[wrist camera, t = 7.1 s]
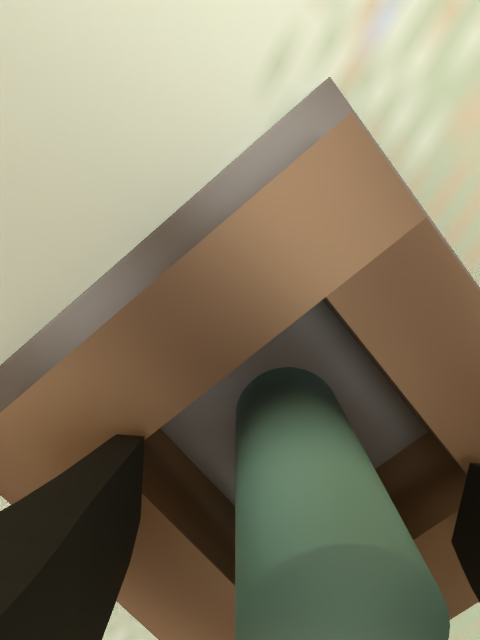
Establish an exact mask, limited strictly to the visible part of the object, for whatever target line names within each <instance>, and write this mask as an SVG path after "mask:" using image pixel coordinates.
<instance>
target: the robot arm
mask: <svg viewBox="0 0 480 640" xmlns="http://www.w3.org/2000/svg"><path fill="white" fill-rule="evenodd" d="M144 439H145V436H133V435H121V434H116V435H115V436H113V437H111V438H110V439H109V440H107V441H106V442H104V443H103V444H102V445H100V446H99V447H98V448H96V449H95V450H94V451H92V452H91V453H89V454H88V455H87V456H85V457H84V458H82V459H81V460H80V461H78V462H77V463H75V464H74V465H73V466H71V467H70V468H68V469H67V470H65V471H64V472H63V473H61V474H60V475H58V476H57V477H55V478H54V479H52V480H51V481H49V482H47V483H46V484H44V485H43V486H41V487H39V488H38V489H36V490H35V491H33V492H31V493H30V494H28V495H27V496H25V497H24V498H22V499H20V500H19V501H17V502H16V503H14V504H12V505H10V506H9V507H7V508H5V509H3V510H2V511H0V640H102V638H103V635H104V632H105V630H106V627H107V624H108V621H109V619H110V616H111V613H112V611H113V608H114V605H115V603H116V600H117V597H118V594H119V592H120V589H121V586H122V584H123V581H124V578H125V575H126V573H127V570H128V567H129V564H130V561H131V557H132V553H133V549H134V545H135V540H136V536H137V532H138V528H139V524H140V519H141V502H142V481H143V460H144ZM451 542H452V545H453V547H454V550H455V552H456V555H457V557H458V559H459V562H460V564H461V567H462V569H463V571H464V573H465V575H466V577H467V580H468V582H469V584H470V586H471V588H472V590H473V592H474V593H475V595H476V597H477V599H478V600H479V602H480V463H470V464H469V469H468V473H467V477H466V481H465V485H464V490H463V494H462V498H461V502H460V507H459V511H458V515H457V519H456V523H455V528H454V532H453V536H452V540H451Z"/></svg>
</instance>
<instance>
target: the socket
mask: <svg viewBox="0 0 480 640" xmlns="http://www.w3.org/2000/svg"><path fill="white" fill-rule="evenodd" d="M282 367H294V368H300V369H304V370H307V371H310V372H312V373H314V374H316V375H317V376H319V377H320V378H322V379H323V380H324V381H325V382H326V383H327V384H328V386H329V387H330V388H331V390H332V391H333V393H334V395H335V397H336V399H337V400H338V402H339V404H340V406H341V408H342V410H343V412H344V413H345V415H346V417H347V419H348V421H349V423H350V424H351V426H352V428H353V430H354V432H355V434H356V435H357V437H358V439H359V441H360V443H361V445H362V447H363V448H364V450H365V452H366V454H367V456H368V458H369V459H370V461H371V463H372V465H373V467H374V469H375V471H376V472H377V474H378V476H379V478H380V480H381V482H382V483H383V485H384V487H385V489H386V491H387V493H388V494H389V496H390V498H391V500H392V502H393V504H394V506H395V507H396V509H397V511H398V513H399V515H400V517H401V518H402V520H403V522H404V524H405V526H406V528H407V530H408V531H409V533H410V535H411V537H412V539H413V541H414V542H415V544H416V546H417V548H418V550H419V552H420V554H421V555H422V557H423V559H424V561H425V563H426V565H427V566H428V568H429V570H430V572H431V574H432V576H433V577H434V579H435V581H436V583H437V585H438V587H439V589H440V590H441V592H442V595H443V597H444V599H445V602H446V604H447V609H448V613H449V620H450V619H452V618H453V617H455V616H457V615H458V614H460V613H461V612H463V611H465V610H466V609H468V608H469V607H471V606H473V605H474V604H476V603H477V602H479V600H478V599H477V597H476V595H475V593H474V592H473V590H472V588H471V586H470V584H469V582H468V580H467V577H466V575H465V573H464V571H463V569H462V567H461V564H460V562H459V559H458V557H457V555H456V552H455V550H454V547H453V545H452V542H451V540H452V536H453V532H454V528H455V523H456V519H457V515H458V511H459V507H460V502H461V498H462V494H463V490H464V485H465V481H466V477H467V473H468V469H469V464H470V463H480V288H479V286H478V285H477V284H476V282H475V281H474V279H473V278H472V276H471V275H470V274H469V272H468V271H467V269H466V268H465V267H464V265H463V264H462V262H461V261H460V260H459V258H458V257H457V255H456V254H455V253H454V251H453V250H452V248H451V247H450V245H449V244H448V243H447V241H446V240H445V238H444V237H443V236H442V234H441V233H440V231H439V230H438V229H437V227H436V226H435V224H434V223H433V222H432V220H431V219H430V217H429V216H428V214H427V213H426V212H425V210H424V209H423V207H422V206H421V205H420V203H419V202H418V200H417V199H416V198H415V196H414V195H413V193H412V192H411V191H410V189H409V188H408V186H407V185H406V183H405V182H404V181H403V179H402V178H401V176H400V175H399V174H398V172H397V171H396V169H395V168H394V167H393V165H392V164H391V162H390V161H389V160H388V158H387V157H386V155H385V154H384V152H383V151H382V150H381V148H380V147H379V145H378V144H377V143H376V141H375V140H374V138H373V137H372V136H371V134H370V133H369V131H368V130H367V129H366V127H365V126H364V124H363V123H362V121H361V120H360V119H359V117H358V116H357V114H356V113H355V112H354V110H353V109H352V107H351V106H350V105H349V103H348V102H347V100H346V99H345V98H344V96H343V95H342V93H341V92H340V90H339V89H338V88H337V86H336V85H335V83H334V82H333V81H332V79H331V78H330V77H329V78H328V79H327V80H325V81H324V82H323V83H322V84H321V85H320V86H319V87H318V88H316V89H315V90H314V91H313V92H312V93H311V94H310V95H308V96H307V97H306V98H305V99H304V100H303V101H302V102H300V103H299V104H298V105H297V106H296V107H295V108H294V109H292V110H291V111H290V112H289V113H288V114H287V115H286V116H284V117H283V118H282V119H281V120H280V121H279V122H278V123H276V124H275V125H274V126H273V127H272V128H271V129H270V130H268V131H267V132H266V133H265V134H264V135H263V136H262V137H261V138H259V139H258V140H257V141H256V142H255V143H254V144H253V145H251V146H250V147H249V148H248V149H247V150H246V151H245V152H243V153H242V154H241V155H240V156H239V157H238V158H237V159H235V160H234V161H233V162H232V163H231V164H230V165H229V166H227V167H226V168H225V169H224V170H223V171H222V172H221V173H219V174H218V175H217V176H216V177H215V178H214V179H213V180H212V181H210V182H209V183H208V184H207V185H206V186H205V187H204V188H202V189H201V190H200V191H199V192H198V193H197V194H196V195H194V196H193V197H192V198H191V199H190V200H189V201H188V202H186V203H185V204H184V205H183V206H182V207H181V208H180V209H178V210H177V211H176V212H175V213H174V214H173V215H172V216H170V217H169V218H168V219H167V220H166V221H165V222H164V223H162V224H161V225H160V226H159V227H158V228H157V229H156V230H155V231H153V232H152V233H151V234H150V235H149V236H148V237H147V238H145V239H144V240H143V241H142V242H141V243H140V244H139V245H137V246H136V247H135V248H134V249H133V250H132V251H131V252H129V253H128V254H127V255H126V256H125V257H124V258H123V259H121V260H120V261H119V262H118V263H117V264H116V265H115V266H113V267H112V268H111V269H110V270H109V271H108V272H107V273H105V274H104V275H103V276H102V277H101V278H100V279H99V280H98V281H96V282H95V283H94V284H93V285H92V286H91V287H90V288H88V289H87V290H86V291H85V292H84V293H83V294H82V295H80V296H79V297H78V298H77V299H76V300H75V301H74V302H72V303H71V304H70V305H69V306H68V307H67V308H66V309H64V310H63V311H62V312H61V313H60V314H59V315H58V316H56V317H55V318H54V319H53V320H52V321H51V322H50V323H49V324H47V325H46V326H45V327H44V328H43V329H42V330H41V331H39V332H38V333H37V334H36V335H35V336H34V337H33V338H31V339H30V340H29V341H28V342H27V343H26V344H25V345H23V346H22V347H21V348H20V349H19V350H18V351H17V352H15V353H14V354H13V355H12V356H11V357H10V358H9V359H7V360H6V361H5V362H4V363H3V364H2V365H1V366H0V495H1V496H2V497H3V498H4V499H6V500H7V501H8V502H9V503H10V504H11V505H12V504H14V503H16V502H17V501H19V500H20V499H22V498H24V497H25V496H27V495H28V494H30V493H31V492H33V491H35V490H36V489H38V488H39V487H41V486H43V485H44V484H46V483H47V482H49V481H51V480H52V479H54V478H55V477H57V476H58V475H60V474H61V473H63V472H64V471H65V470H67V469H68V468H70V467H71V466H73V465H74V464H75V463H77V462H78V461H80V460H81V459H82V458H84V457H85V456H87V455H88V454H89V453H91V452H92V451H94V450H95V449H96V448H98V447H99V446H100V445H102V444H103V443H104V442H106V441H107V440H109V439H110V438H111V437H113V436H115V435H116V434H121V435H133V436H145V439H144V460H143V481H142V502H141V519H140V524H139V528H138V532H137V536H136V540H135V545H134V549H133V553H132V557H131V561H130V564H129V567H128V570H127V573H126V575H125V578H124V581H123V584H122V586H121V589H120V592H119V594H118V597H117V600H116V601H117V602H118V603H119V604H120V605H121V606H122V607H124V608H125V609H126V610H127V611H128V612H129V613H130V614H131V615H132V616H133V617H134V618H136V619H137V620H138V621H139V622H140V623H141V624H142V625H143V626H144V627H145V628H147V629H148V630H149V631H150V632H151V633H152V634H153V635H154V636H155V637H156V638H157V639H159V640H235V501H236V408H237V404H238V401H239V398H240V396H241V394H242V392H243V391H244V389H245V388H246V387H247V385H248V384H249V383H250V382H251V381H252V380H254V379H255V378H256V377H258V376H259V375H261V374H263V373H265V372H267V371H269V370H273V369H276V368H282Z"/></svg>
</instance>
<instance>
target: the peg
mask: <svg viewBox="0 0 480 640" xmlns="http://www.w3.org/2000/svg"><path fill="white" fill-rule="evenodd" d="M449 629H450V622H449V613H448V609H447V604H446V602H445V599H444V597H443V595H442V592H441V590H440V589H439V587H438V585H437V583H436V581H435V579H434V577H433V576H432V574H431V572H430V570H429V568H428V566H427V565H426V563H425V561H424V559H423V557H422V555H421V554H420V552H419V550H418V548H417V546H416V544H415V542H414V541H413V539H412V537H411V535H410V533H409V531H408V530H407V528H406V526H405V524H404V522H403V520H402V518H401V517H400V515H399V513H398V511H397V509H396V507H395V506H394V504H393V502H392V500H391V498H390V496H389V494H388V493H387V491H386V489H385V487H384V485H383V483H382V482H381V480H380V478H379V476H378V474H377V472H376V471H375V469H374V467H373V465H372V463H371V461H370V459H369V458H368V456H367V454H366V452H365V450H364V448H363V447H362V445H361V443H360V441H359V439H358V437H357V435H356V434H355V432H354V430H353V428H352V426H351V424H350V423H349V421H348V419H347V417H346V415H345V413H344V412H343V410H342V408H341V406H340V404H339V402H338V400H337V399H336V397H335V395H334V393H333V391H332V390H331V388H330V387H329V386H328V384H327V383H326V382H325V381H324V380H323V379H322V378H320V377H319V376H317V375H316V374H314V373H312V372H310V371H307V370H304V369H300V368H294V367H282V368H276V369H273V370H269V371H267V372H265V373H263V374H261V375H259V376H258V377H256V378H255V379H254V380H252V381H251V382H250V383H249V384H248V385H247V387H246V388H245V389H244V391H243V392H242V394H241V396H240V398H239V401H238V404H237V408H236V501H235V640H448V638H449Z"/></svg>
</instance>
